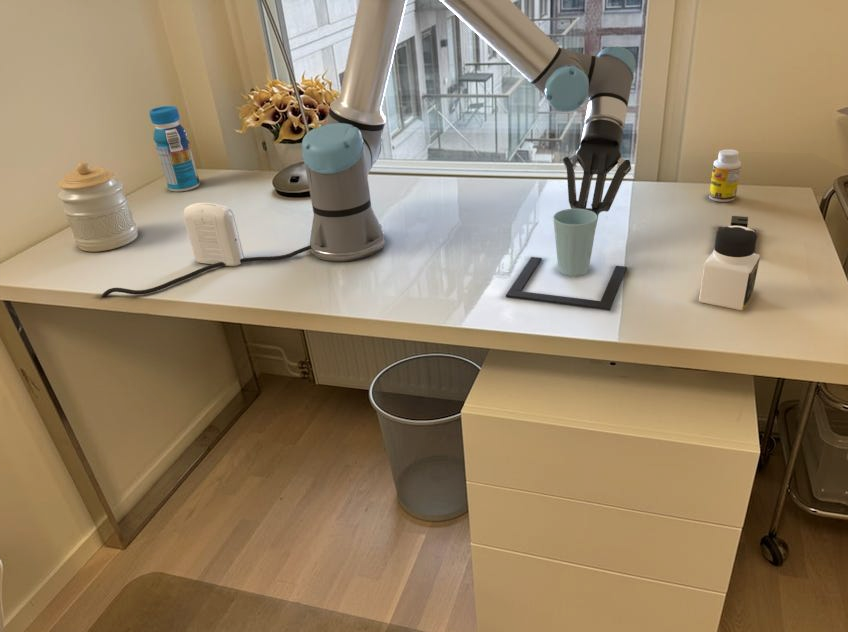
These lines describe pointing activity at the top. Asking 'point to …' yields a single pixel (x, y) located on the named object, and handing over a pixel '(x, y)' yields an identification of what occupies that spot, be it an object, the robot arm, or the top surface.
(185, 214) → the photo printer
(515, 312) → the top surface
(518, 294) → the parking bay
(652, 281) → the top surface
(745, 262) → the medicine bottle
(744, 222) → the build plate
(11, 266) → the top surface
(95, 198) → the jar
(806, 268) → the top surface
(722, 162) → the supplement bottle
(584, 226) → the cup
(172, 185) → the beverage bottle
